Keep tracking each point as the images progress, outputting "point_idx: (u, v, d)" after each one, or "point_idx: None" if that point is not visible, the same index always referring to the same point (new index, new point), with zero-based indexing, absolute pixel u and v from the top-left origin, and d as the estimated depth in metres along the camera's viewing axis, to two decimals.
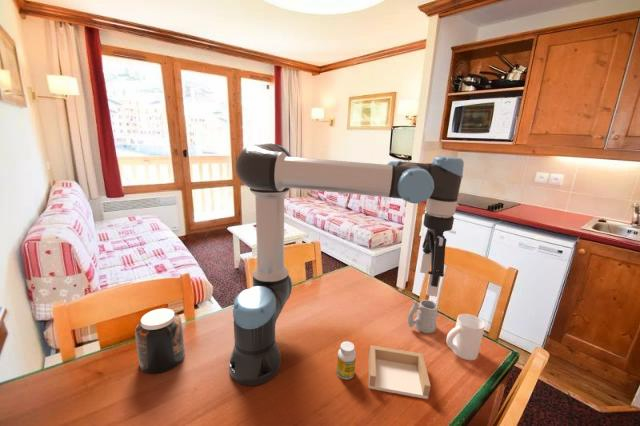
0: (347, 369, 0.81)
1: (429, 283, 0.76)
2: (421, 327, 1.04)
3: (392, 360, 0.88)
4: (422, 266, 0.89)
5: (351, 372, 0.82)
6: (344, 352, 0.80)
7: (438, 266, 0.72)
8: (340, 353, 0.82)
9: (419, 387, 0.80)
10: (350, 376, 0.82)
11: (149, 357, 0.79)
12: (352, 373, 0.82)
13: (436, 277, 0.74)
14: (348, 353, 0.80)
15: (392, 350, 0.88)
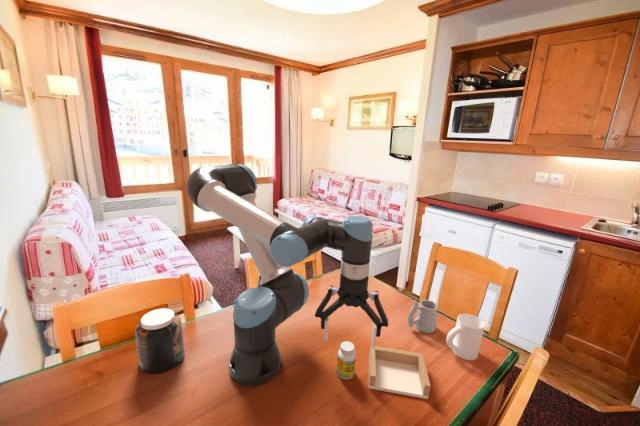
0: (347, 369, 0.81)
1: None
2: (421, 327, 1.04)
3: (392, 360, 0.88)
4: None
5: (351, 372, 0.82)
6: (344, 352, 0.80)
7: (318, 307, 0.80)
8: (340, 353, 0.82)
9: (419, 387, 0.80)
10: (350, 376, 0.82)
11: (149, 357, 0.79)
12: (352, 373, 0.82)
13: None
14: (348, 353, 0.80)
15: (392, 350, 0.88)
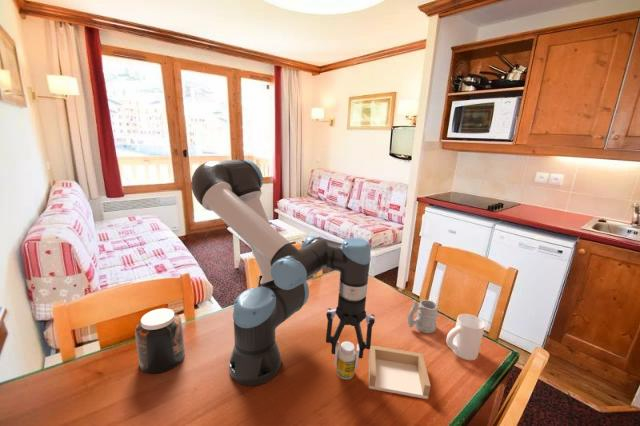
0: (347, 369, 0.81)
1: None
2: (421, 327, 1.04)
3: (392, 360, 0.88)
4: None
5: (351, 372, 0.82)
6: (344, 352, 0.80)
7: None
8: (340, 353, 0.82)
9: (419, 387, 0.80)
10: (350, 376, 0.82)
11: (149, 357, 0.79)
12: (352, 373, 0.82)
13: None
14: (348, 353, 0.80)
15: (392, 350, 0.88)
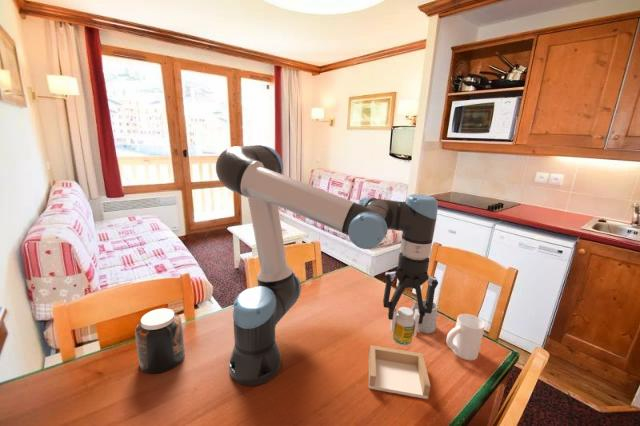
0: (407, 334, 0.77)
1: None
2: (421, 327, 1.04)
3: (392, 360, 0.88)
4: None
5: (410, 338, 0.78)
6: (403, 317, 0.77)
7: (384, 296, 0.78)
8: (398, 318, 0.78)
9: (419, 387, 0.80)
10: (408, 343, 0.78)
11: (149, 357, 0.79)
12: (411, 339, 0.78)
13: None
14: (408, 317, 0.76)
15: (392, 350, 0.88)
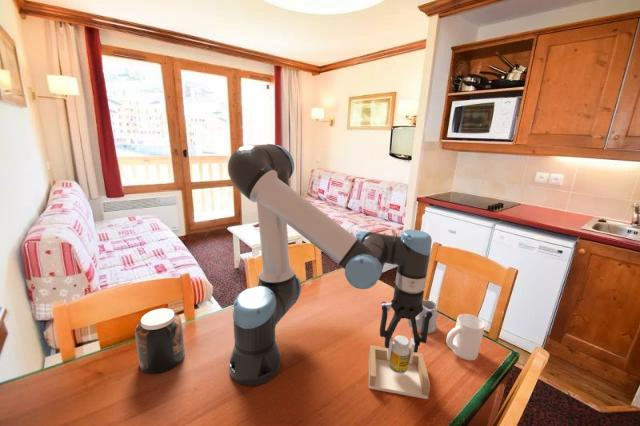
0: (402, 363, 0.80)
1: None
2: None
3: None
4: None
5: (406, 367, 0.80)
6: (399, 346, 0.79)
7: (380, 326, 0.81)
8: (394, 347, 0.80)
9: (419, 387, 0.80)
10: (404, 370, 0.81)
11: (149, 357, 0.79)
12: (406, 367, 0.81)
13: None
14: (403, 346, 0.79)
15: None
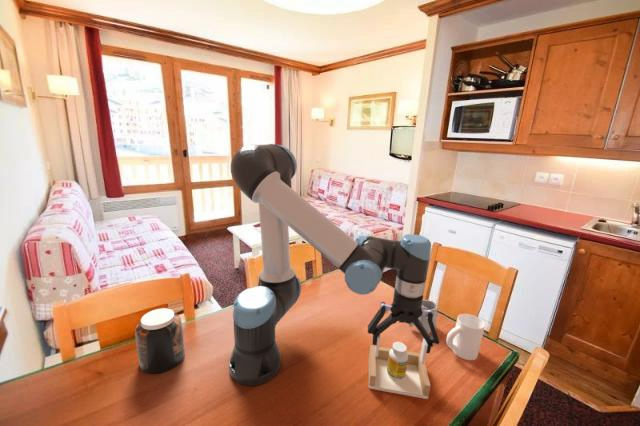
0: (400, 369, 0.80)
1: None
2: None
3: None
4: (421, 351, 0.82)
5: (404, 373, 0.81)
6: (397, 353, 0.80)
7: (371, 323, 0.81)
8: (392, 354, 0.81)
9: (419, 387, 0.80)
10: (402, 377, 0.81)
11: (149, 357, 0.79)
12: (404, 374, 0.82)
13: None
14: (401, 353, 0.79)
15: None
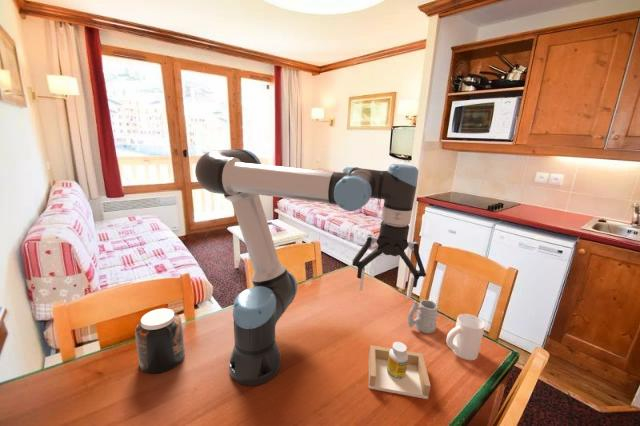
0: (400, 369, 0.80)
1: None
2: (421, 327, 1.04)
3: None
4: (408, 287, 0.81)
5: (404, 373, 0.81)
6: (397, 353, 0.80)
7: (356, 256, 0.81)
8: (392, 354, 0.81)
9: (419, 387, 0.80)
10: (402, 377, 0.81)
11: (149, 357, 0.79)
12: (404, 374, 0.82)
13: None
14: (401, 353, 0.79)
15: None
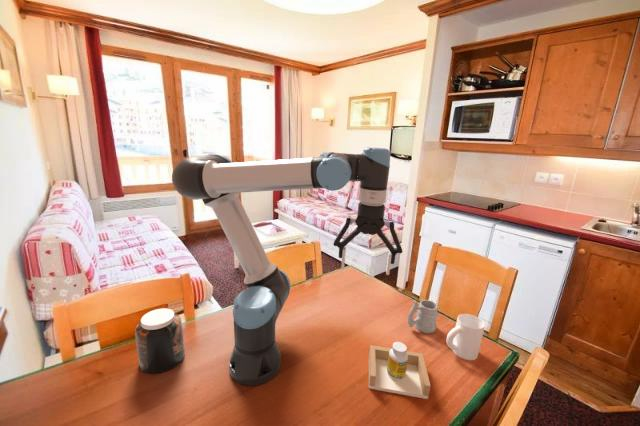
0: (400, 369, 0.80)
1: None
2: (421, 327, 1.04)
3: None
4: None
5: (404, 373, 0.81)
6: (397, 353, 0.80)
7: (337, 237, 0.86)
8: (392, 354, 0.81)
9: (419, 387, 0.80)
10: (402, 377, 0.81)
11: (149, 357, 0.79)
12: (404, 374, 0.82)
13: None
14: (401, 353, 0.79)
15: None
